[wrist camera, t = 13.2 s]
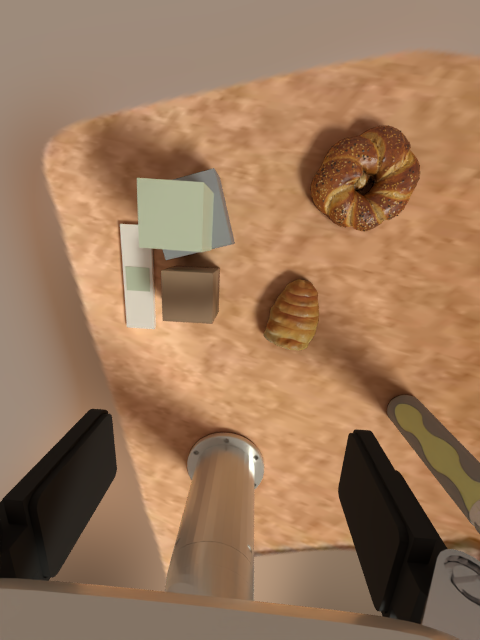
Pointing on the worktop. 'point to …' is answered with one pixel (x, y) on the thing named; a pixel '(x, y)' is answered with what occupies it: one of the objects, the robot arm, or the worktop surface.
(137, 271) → the card
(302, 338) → the pastry
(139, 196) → the sage block
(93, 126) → the worktop surface
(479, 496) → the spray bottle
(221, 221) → the base block
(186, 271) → the walnut block
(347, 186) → the pretzel
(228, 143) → the worktop surface
